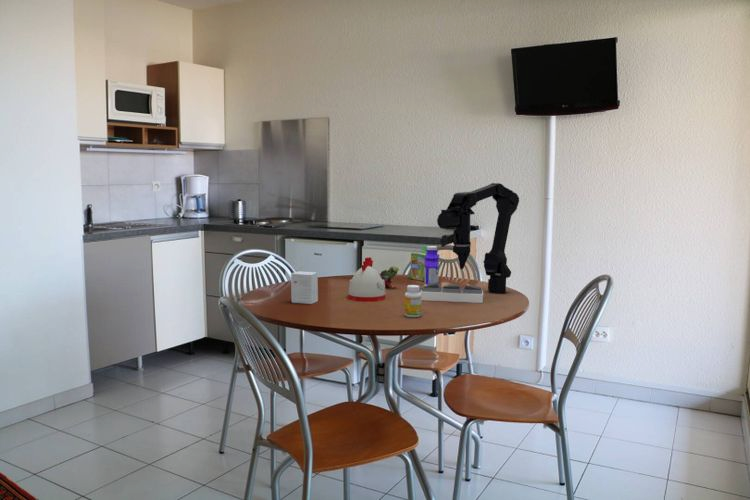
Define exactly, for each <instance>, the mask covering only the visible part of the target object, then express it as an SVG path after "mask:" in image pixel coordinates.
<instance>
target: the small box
mask: <svg viewBox="0 0 750 500" xmlns="http://www.w3.org/2000/svg"><path fill="white" fill-rule="evenodd" d="M318 274H319V273H318V271H317V272H316V271H299V270H298V271H294V272H291V274H290V290H291V292H290V295H291V296H290V297H291V303H293V304H303V305H304V304H306V305H313V304H314V303H315V304H316V303H317V302H318V301H319V287H318V285H319V284H318V283H319V282H318V281H319V280H318V278H319V277H318Z"/></svg>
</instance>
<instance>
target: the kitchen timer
mask: <svg viewBox="0 0 750 500" xmlns="http://www.w3.org/2000/svg"><path fill="white" fill-rule="evenodd" d="M362 264H363V265H362ZM362 264H361V265H360V266H361V267H360V268H359V269H358V270H357V271H356V272H355V273H354V275H353V277H352V279H349V283H348V285H349V287H348V291H347V292H348V293H347V298H348V299H349V300H350V301H356V302H379V301H384V300H386V286H385V281H384V280H382V278H381V277H380V273H379V272H378V271H377V270H376V269H375V268H374V267H373V264H374V260H373V259H372V257H370V256H369V257H364V261H362Z"/></svg>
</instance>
